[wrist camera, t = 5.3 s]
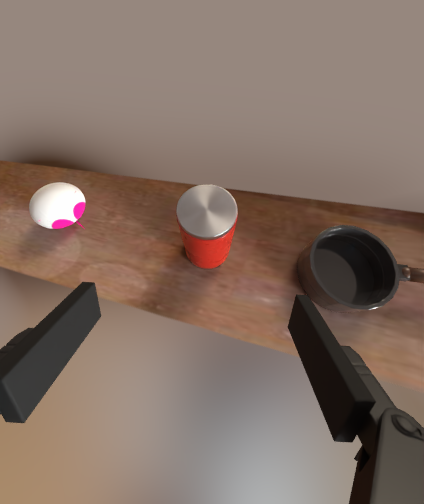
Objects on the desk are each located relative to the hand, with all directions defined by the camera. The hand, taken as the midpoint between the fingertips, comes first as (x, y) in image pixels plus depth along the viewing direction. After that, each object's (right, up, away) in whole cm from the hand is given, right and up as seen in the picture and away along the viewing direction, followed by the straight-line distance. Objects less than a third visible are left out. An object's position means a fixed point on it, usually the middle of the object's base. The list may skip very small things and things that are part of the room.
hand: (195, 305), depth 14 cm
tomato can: (0, +4, +19) cm, 19 cm away
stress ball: (-21, +9, +21) cm, 31 cm away
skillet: (+20, 0, +18) cm, 27 cm away
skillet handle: (+29, 0, +15) cm, 33 cm away
